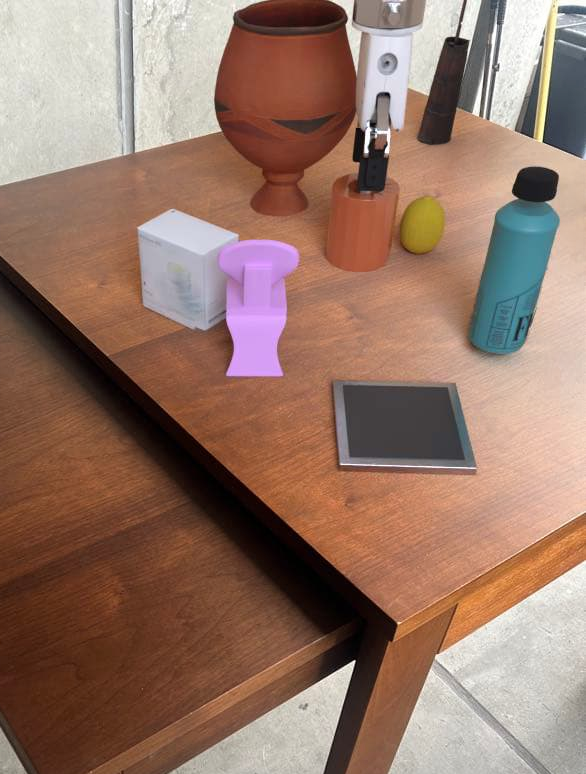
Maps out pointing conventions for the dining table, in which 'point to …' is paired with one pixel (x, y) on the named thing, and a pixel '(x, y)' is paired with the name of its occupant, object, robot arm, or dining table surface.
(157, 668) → the dining table surface
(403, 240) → the lemon
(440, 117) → the butter churn
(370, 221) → the pen cup
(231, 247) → the toy chair
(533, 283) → the beverage bottle
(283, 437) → the dining table surface
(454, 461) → the tablet
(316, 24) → the goblet
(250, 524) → the dining table surface
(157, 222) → the cosmetics box
